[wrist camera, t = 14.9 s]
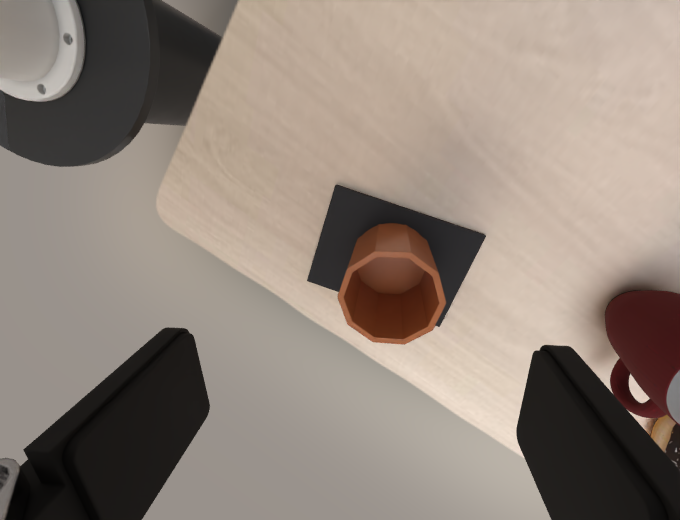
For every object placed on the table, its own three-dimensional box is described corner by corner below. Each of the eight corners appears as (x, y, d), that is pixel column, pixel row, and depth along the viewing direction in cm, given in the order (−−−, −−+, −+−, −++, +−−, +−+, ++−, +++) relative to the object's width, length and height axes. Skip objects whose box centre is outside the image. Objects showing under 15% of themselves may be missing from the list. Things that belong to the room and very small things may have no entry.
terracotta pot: (342, 282, 32) (327, 326, 24) (367, 210, 29) (358, 234, 21) (412, 306, 32) (418, 358, 24) (444, 236, 29) (463, 270, 21)
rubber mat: (308, 279, 33) (306, 280, 32) (336, 184, 29) (335, 185, 28) (438, 324, 32) (439, 327, 32) (484, 234, 29) (486, 236, 28)
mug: (643, 376, 31) (750, 477, 22) (556, 359, 32) (624, 450, 22) (702, 278, 27) (863, 350, 18) (601, 261, 28) (706, 322, 19)
